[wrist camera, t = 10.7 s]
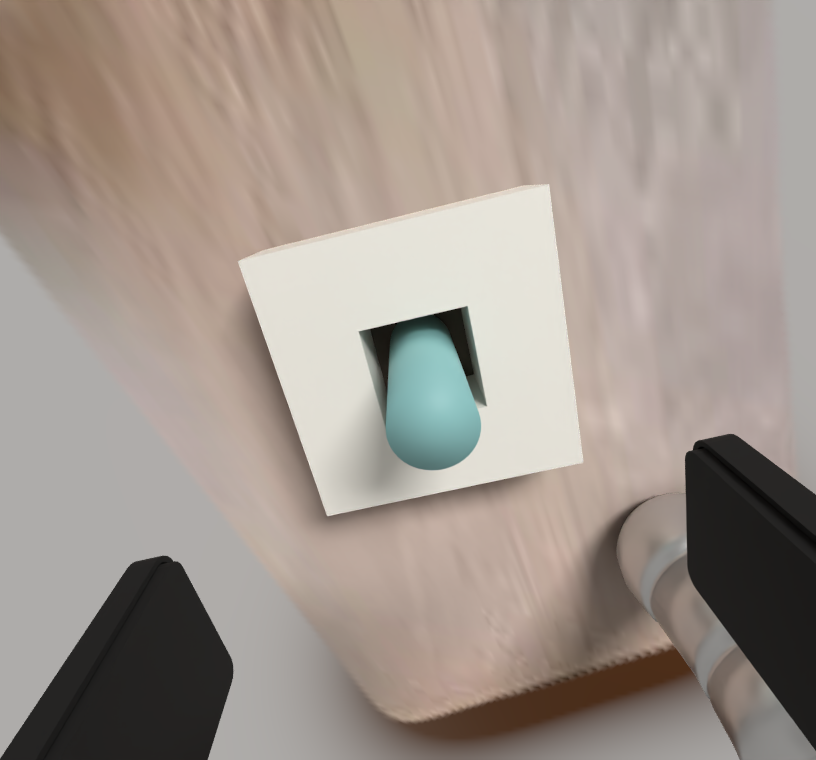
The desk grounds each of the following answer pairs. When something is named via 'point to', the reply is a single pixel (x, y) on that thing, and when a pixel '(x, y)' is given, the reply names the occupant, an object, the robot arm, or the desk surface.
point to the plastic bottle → (703, 633)
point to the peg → (428, 397)
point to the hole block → (411, 298)
